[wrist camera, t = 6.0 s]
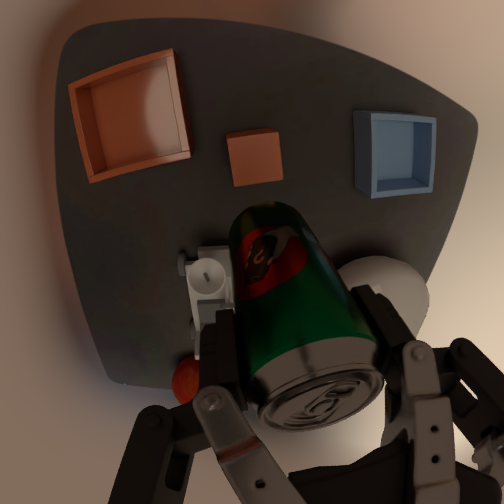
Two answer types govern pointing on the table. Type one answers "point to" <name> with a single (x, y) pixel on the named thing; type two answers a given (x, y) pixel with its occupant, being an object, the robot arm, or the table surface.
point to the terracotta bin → (132, 116)
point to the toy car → (207, 286)
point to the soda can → (297, 325)
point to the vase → (391, 286)
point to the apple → (186, 380)
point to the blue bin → (394, 152)
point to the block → (255, 156)
